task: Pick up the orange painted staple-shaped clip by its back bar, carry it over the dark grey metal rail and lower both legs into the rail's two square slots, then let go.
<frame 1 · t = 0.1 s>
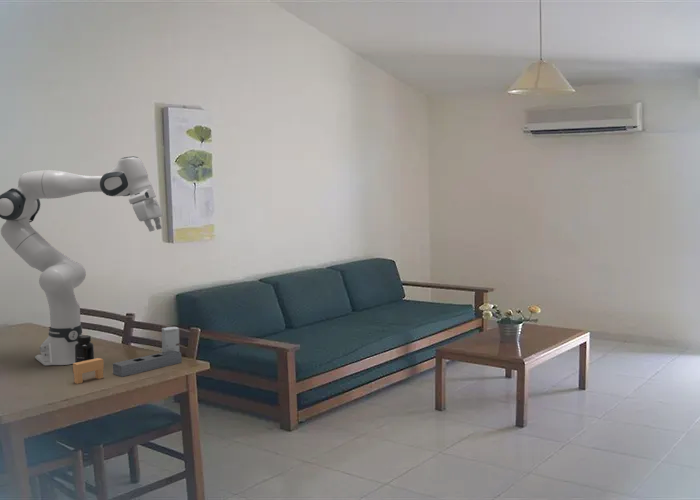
hand: (155, 230, 277), 52 cm above the table, tool tilted 20°, fingers open, 8 cm apart
supplement bottle: (85, 367, 275), on the table
rail: (148, 368, 272), on the table
skincare box: (171, 358, 288), on the table
clip: (89, 380, 257), on the table
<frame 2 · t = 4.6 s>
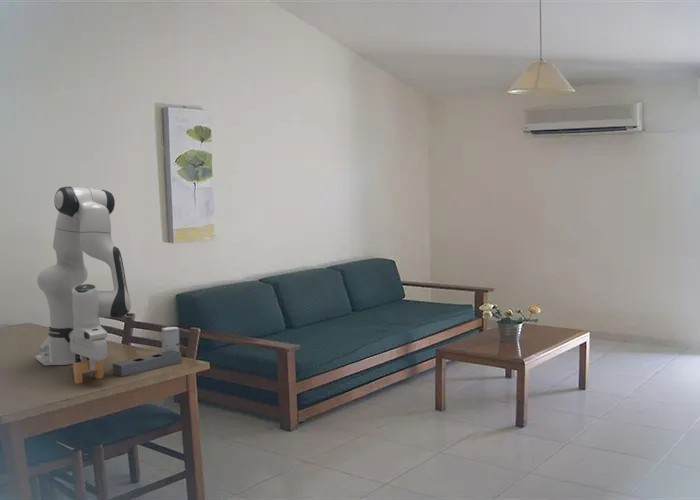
hand: (88, 368, 256), 4 cm above the table, tool pointing down, fingers closed on clip, 3 cm apart
clip: (89, 380, 257), on the table, touching gripper
everything else where it was.
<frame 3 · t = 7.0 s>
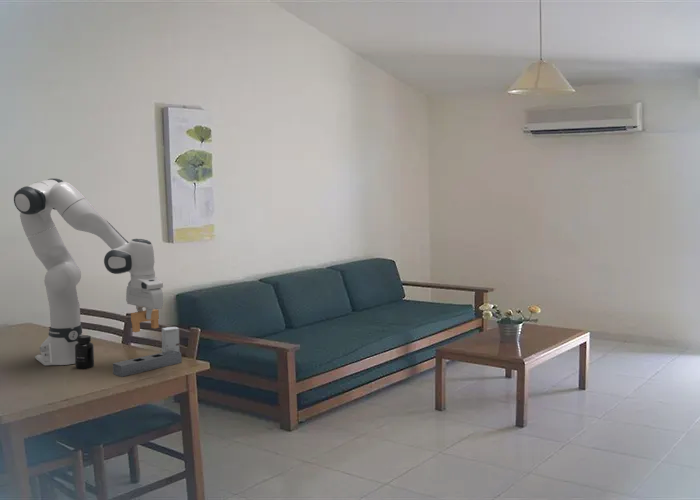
hand: (144, 318, 270), 19 cm above the table, tool pointing down, fingers closed on clip, 3 cm apart
clip: (145, 329, 270), point 15 cm above the table, touching gripper
everything else where it was.
when the fingers open (6 cm above the table, at t = 9.3 s): clip drops 1 cm, resting on rail.
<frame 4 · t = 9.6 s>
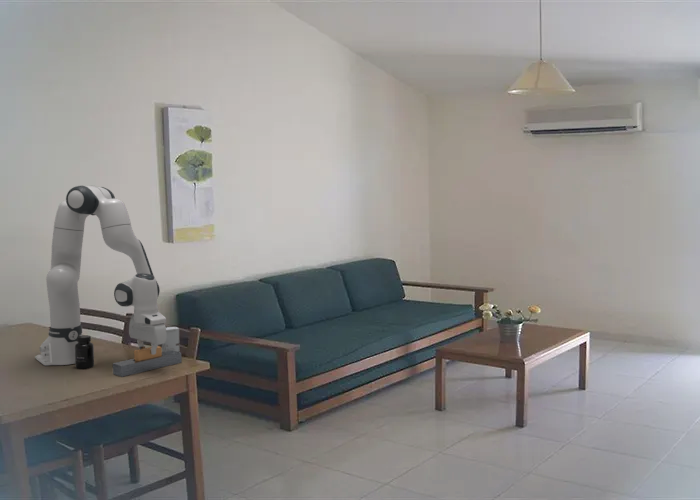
hand: (147, 352, 272), 6 cm above the table, tool pointing down, fingers open, 6 cm apart
clip: (148, 366, 272), resting on rail
everything else where it was.
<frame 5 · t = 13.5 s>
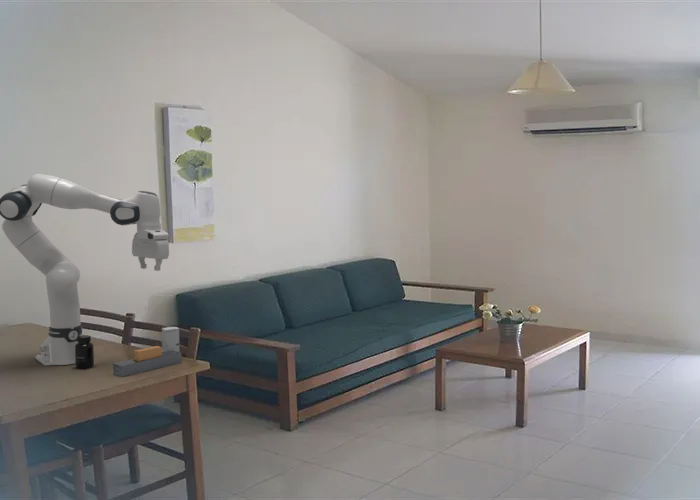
hand: (150, 269, 275), 37 cm above the table, tool pointing down, fingers open, 8 cm apart
nothing on the table moved.
at the end: clip 0.2 cm off-centre on the rail, point 0.5 cm above the rail's base; clip tilted 0°; the gripper is holding nothing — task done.
